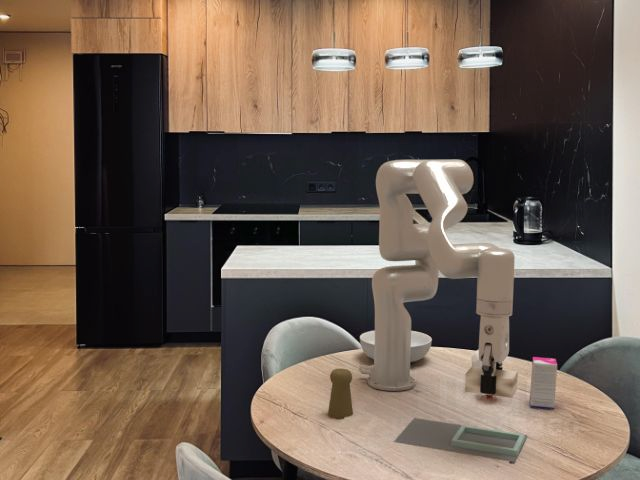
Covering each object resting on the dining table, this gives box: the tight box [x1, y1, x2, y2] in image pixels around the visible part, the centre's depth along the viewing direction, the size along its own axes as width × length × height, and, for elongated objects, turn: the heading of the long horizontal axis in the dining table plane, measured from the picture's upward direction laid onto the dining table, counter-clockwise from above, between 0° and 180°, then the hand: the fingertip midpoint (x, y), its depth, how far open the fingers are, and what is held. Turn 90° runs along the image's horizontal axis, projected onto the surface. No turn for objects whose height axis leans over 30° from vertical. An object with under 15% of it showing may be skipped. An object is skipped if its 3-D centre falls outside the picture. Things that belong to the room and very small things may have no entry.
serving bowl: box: [359, 330, 433, 363], centre depth 247 cm, size 21×21×7 cm
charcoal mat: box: [393, 417, 528, 464], centre depth 187 cm, size 26×16×1 cm, turn 68°
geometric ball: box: [471, 349, 491, 367], centre depth 234 cm, size 8×8×8 cm
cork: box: [327, 368, 354, 420], centre depth 201 cm, size 6×6×11 cm
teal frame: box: [451, 424, 526, 456], centre depth 185 cm, size 14×10×1 cm
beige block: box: [464, 365, 519, 399], centre depth 183 cm, size 10×6×4 cm, turn 68°
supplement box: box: [529, 356, 558, 410], centre depth 210 cm, size 6×6×12 cm
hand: (491, 388), depth 183 cm, fingers closed on beige block, 6 cm apart
